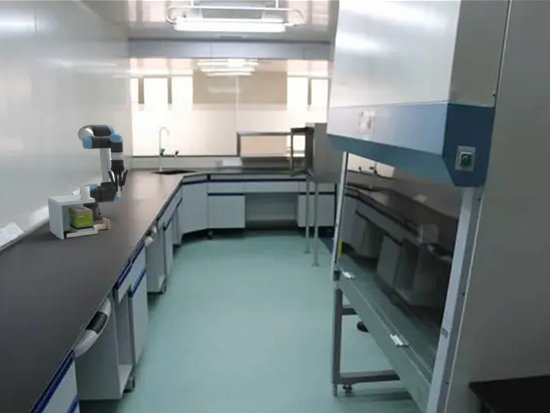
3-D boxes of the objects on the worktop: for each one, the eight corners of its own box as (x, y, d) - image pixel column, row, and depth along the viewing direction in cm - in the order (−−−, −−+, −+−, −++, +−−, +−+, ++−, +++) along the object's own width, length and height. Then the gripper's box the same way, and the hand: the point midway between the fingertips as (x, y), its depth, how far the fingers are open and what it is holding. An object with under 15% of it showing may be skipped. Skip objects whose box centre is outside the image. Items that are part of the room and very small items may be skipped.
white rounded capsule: (79, 198, 298) (78, 186, 297) (88, 197, 301) (87, 185, 300) (82, 199, 294) (81, 187, 293) (91, 198, 297) (90, 186, 296)
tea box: (69, 231, 308) (67, 207, 306) (86, 229, 315) (84, 206, 312) (77, 236, 297) (75, 211, 294) (94, 234, 303) (93, 209, 300)
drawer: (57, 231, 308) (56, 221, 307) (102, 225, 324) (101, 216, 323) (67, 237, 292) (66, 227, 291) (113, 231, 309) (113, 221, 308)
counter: (50, 232, 307) (47, 196, 303) (83, 227, 319) (81, 193, 315) (61, 239, 288) (59, 202, 285) (96, 234, 301) (94, 198, 297)
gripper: (108, 160, 307) (110, 198, 312) (129, 159, 315) (131, 196, 319) (104, 159, 313) (106, 196, 317) (125, 158, 321) (126, 194, 325)
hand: (118, 196), depth 318 cm, fingers closed
